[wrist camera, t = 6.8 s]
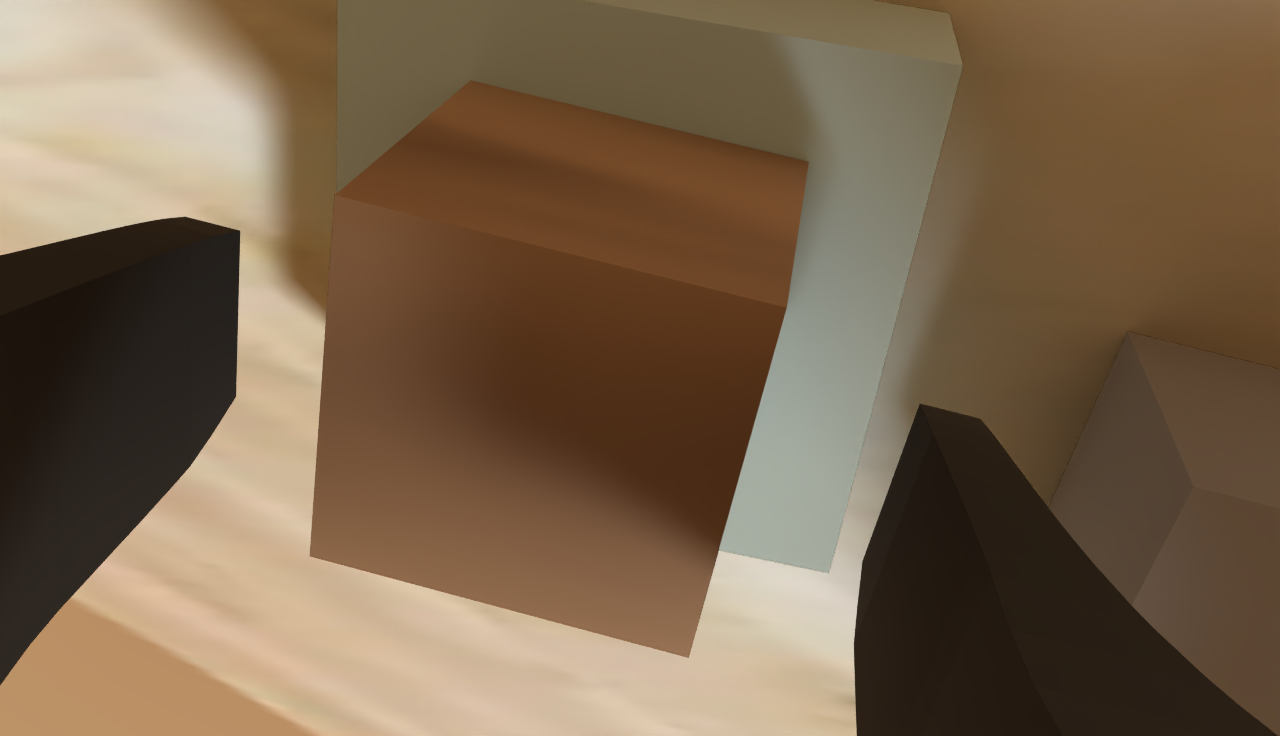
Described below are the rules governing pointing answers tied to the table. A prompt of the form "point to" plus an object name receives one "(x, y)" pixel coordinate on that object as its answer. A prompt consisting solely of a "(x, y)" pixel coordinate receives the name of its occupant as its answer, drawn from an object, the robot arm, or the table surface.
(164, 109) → the table surface
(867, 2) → the base block
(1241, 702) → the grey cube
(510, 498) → the walnut cube
